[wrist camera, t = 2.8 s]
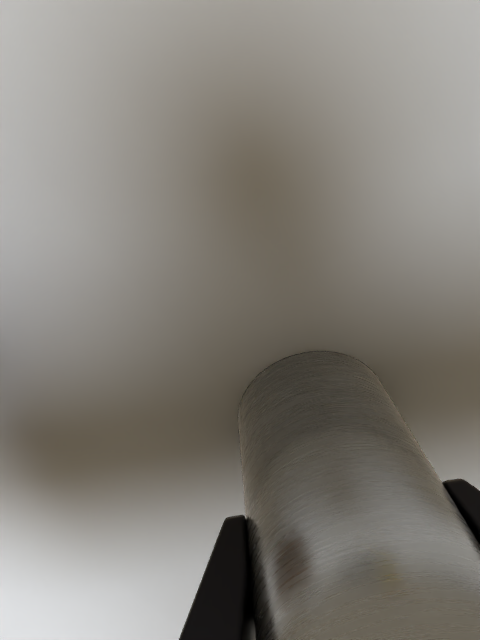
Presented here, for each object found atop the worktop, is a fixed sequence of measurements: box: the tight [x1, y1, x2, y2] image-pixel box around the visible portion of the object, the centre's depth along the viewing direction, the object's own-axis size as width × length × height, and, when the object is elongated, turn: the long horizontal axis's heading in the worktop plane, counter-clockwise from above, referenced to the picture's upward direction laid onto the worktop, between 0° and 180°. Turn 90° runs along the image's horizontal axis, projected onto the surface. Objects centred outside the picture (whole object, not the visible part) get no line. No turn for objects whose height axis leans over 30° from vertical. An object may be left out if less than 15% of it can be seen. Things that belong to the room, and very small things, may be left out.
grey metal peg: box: [238, 351, 480, 640], centre depth 7 cm, size 4×4×9 cm
